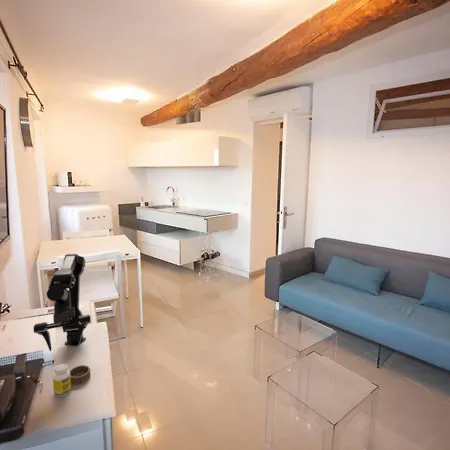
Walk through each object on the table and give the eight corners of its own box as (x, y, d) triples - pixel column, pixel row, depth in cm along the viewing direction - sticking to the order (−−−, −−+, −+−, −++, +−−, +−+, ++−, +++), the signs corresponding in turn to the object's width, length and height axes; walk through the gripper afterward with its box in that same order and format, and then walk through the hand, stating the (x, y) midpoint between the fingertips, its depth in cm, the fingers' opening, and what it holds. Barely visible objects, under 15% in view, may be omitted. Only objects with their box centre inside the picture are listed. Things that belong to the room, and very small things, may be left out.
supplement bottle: (64, 398, 109) (62, 373, 107) (50, 396, 110) (48, 371, 108) (74, 388, 114) (72, 363, 112) (61, 385, 115) (59, 361, 113)
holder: (78, 370, 123) (77, 363, 123) (94, 374, 122) (93, 367, 121) (64, 382, 117) (64, 375, 116) (81, 386, 115) (80, 379, 114)
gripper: (30, 306, 109) (31, 353, 104) (88, 296, 117) (91, 340, 112) (35, 311, 119) (36, 354, 114) (89, 302, 126) (92, 342, 121)
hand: (64, 347), depth 115 cm, fingers open, 9 cm apart
